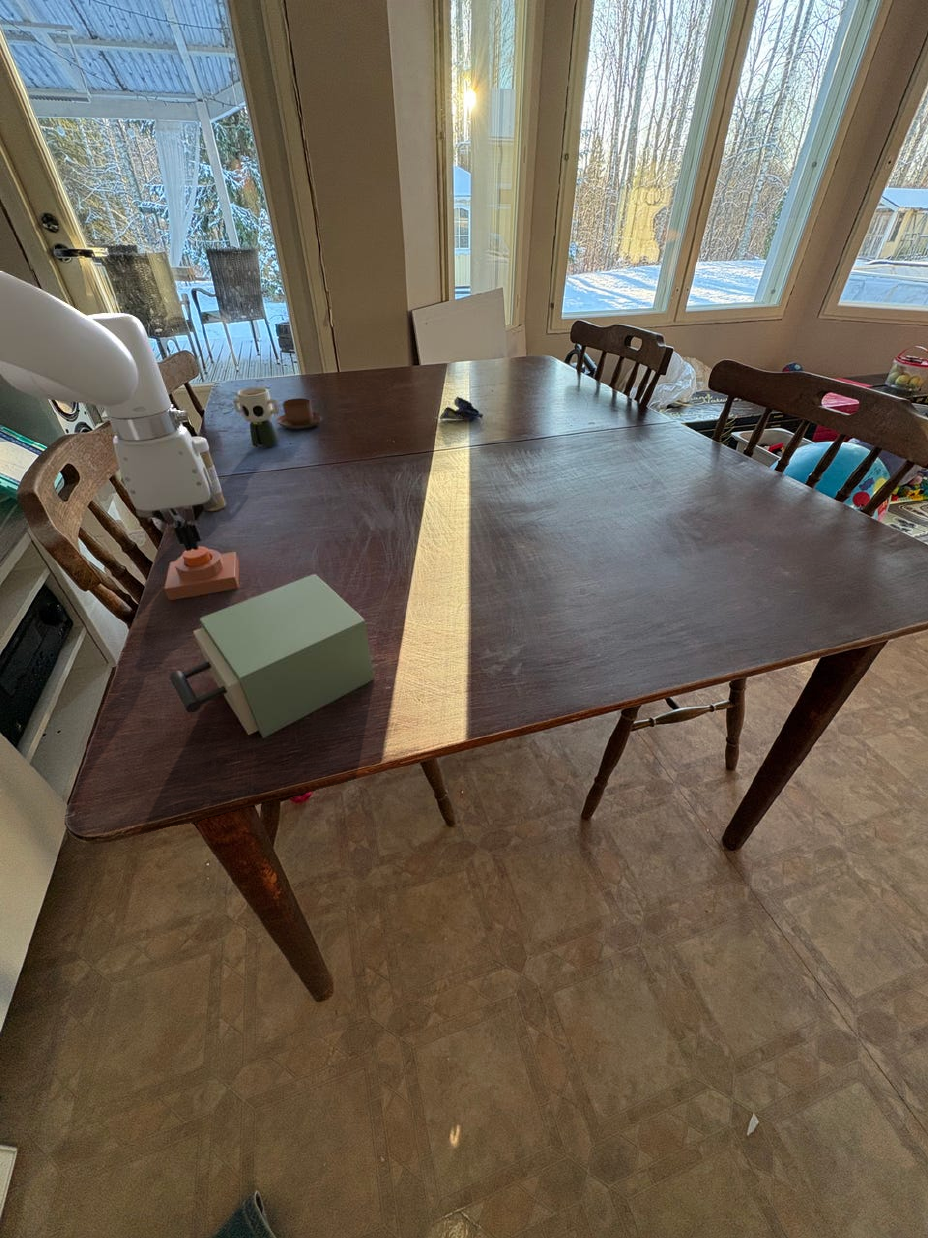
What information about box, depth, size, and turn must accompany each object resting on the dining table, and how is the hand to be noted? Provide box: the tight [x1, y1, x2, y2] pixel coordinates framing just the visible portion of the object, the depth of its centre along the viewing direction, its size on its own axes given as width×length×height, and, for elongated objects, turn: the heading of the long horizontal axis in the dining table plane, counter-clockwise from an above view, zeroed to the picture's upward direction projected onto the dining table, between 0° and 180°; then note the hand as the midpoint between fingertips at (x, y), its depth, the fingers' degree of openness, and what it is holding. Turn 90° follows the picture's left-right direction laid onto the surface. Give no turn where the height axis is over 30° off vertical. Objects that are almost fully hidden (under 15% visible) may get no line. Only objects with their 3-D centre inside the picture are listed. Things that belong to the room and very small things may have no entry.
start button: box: [181, 545, 211, 567], centre depth 79 cm, size 4×4×2 cm
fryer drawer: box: [169, 626, 259, 736], centre depth 60 cm, size 18×11×8 cm, turn 129°
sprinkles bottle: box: [191, 436, 227, 512], centre depth 98 cm, size 5×5×13 cm
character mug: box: [232, 386, 280, 448], centre depth 125 cm, size 11×7×13 cm, turn 85°
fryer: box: [199, 573, 375, 739], centre depth 62 cm, size 15×13×10 cm
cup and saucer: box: [276, 397, 323, 430], centre depth 139 cm, size 12×12×6 cm
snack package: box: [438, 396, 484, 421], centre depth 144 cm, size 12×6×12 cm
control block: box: [163, 548, 240, 601], centre depth 81 cm, size 10×8×4 cm
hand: (193, 545), depth 78 cm, fingers closed
